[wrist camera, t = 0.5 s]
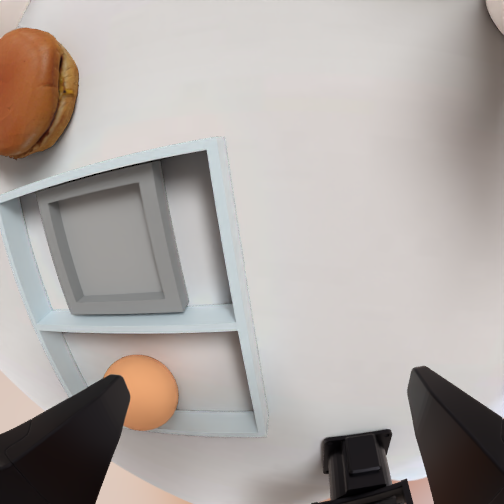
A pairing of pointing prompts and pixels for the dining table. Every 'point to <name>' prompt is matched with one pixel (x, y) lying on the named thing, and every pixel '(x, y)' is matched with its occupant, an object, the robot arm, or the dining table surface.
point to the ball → (146, 391)
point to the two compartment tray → (189, 321)
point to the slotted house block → (11, 14)
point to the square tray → (114, 243)
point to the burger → (34, 91)
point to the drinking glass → (496, 13)
